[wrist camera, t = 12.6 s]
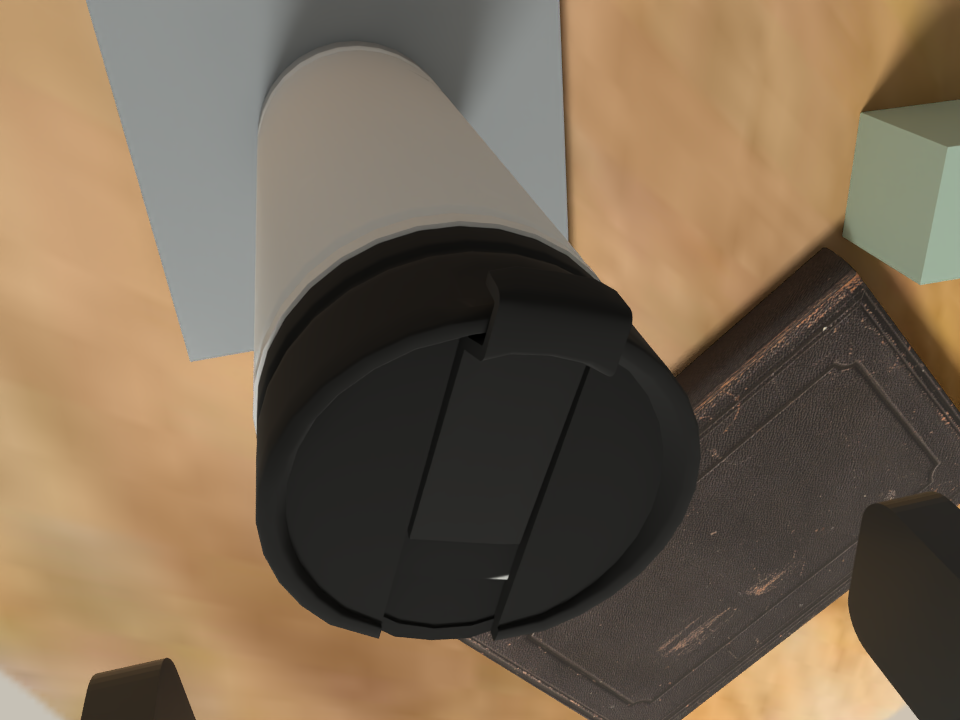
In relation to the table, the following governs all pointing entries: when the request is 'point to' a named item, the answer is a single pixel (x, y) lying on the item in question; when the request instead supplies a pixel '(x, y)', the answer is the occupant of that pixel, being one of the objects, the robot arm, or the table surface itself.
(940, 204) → the sage block
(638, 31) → the table surface
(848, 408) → the hardcover book
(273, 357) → the travel mug
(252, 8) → the slate board
